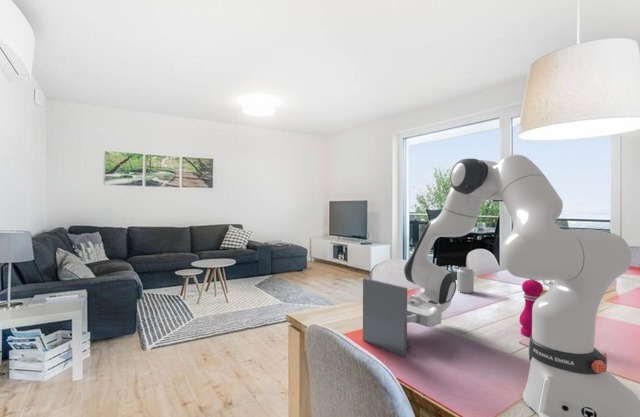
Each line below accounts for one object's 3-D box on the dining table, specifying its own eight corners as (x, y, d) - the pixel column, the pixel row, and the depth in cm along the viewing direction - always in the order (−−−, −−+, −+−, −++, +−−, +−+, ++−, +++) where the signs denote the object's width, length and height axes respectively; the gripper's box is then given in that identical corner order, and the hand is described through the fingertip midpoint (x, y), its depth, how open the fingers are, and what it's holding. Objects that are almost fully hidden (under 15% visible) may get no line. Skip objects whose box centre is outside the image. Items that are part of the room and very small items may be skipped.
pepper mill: (521, 328, 119) (521, 272, 118) (545, 334, 114) (546, 275, 113) (517, 335, 113) (518, 276, 112) (543, 340, 108) (544, 279, 108)
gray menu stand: (419, 349, 102) (419, 284, 101) (404, 357, 97) (404, 288, 96) (378, 333, 114) (378, 275, 113) (362, 340, 109) (362, 278, 108)
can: (470, 290, 170) (470, 266, 170) (475, 294, 162) (476, 269, 162) (455, 289, 171) (455, 266, 170) (459, 293, 163) (459, 269, 163)
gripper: (393, 292, 123) (368, 299, 114) (445, 305, 107) (421, 315, 98) (393, 309, 123) (368, 318, 114) (445, 325, 107) (421, 336, 98)
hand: (393, 317), depth 106 cm, fingers closed on smoothie, 6 cm apart
